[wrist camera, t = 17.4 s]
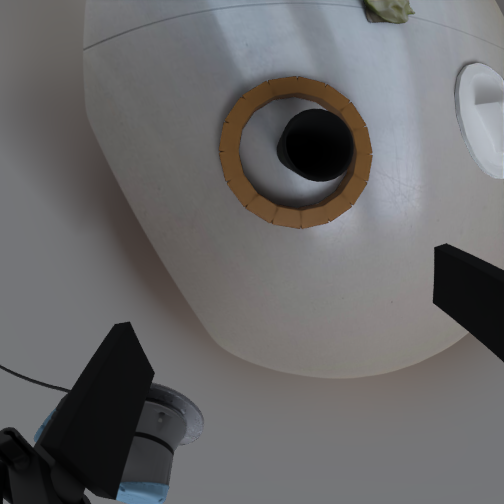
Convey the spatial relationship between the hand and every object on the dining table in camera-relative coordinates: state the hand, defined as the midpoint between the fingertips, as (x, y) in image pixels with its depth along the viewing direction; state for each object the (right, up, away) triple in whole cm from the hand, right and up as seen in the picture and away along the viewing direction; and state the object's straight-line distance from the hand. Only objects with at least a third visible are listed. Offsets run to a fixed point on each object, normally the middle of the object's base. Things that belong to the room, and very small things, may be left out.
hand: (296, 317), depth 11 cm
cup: (+4, +17, +28) cm, 33 cm away
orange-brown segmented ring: (+5, +17, +27) cm, 32 cm away
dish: (+48, +30, +26) cm, 62 cm away
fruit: (+20, +45, +20) cm, 53 cm away
